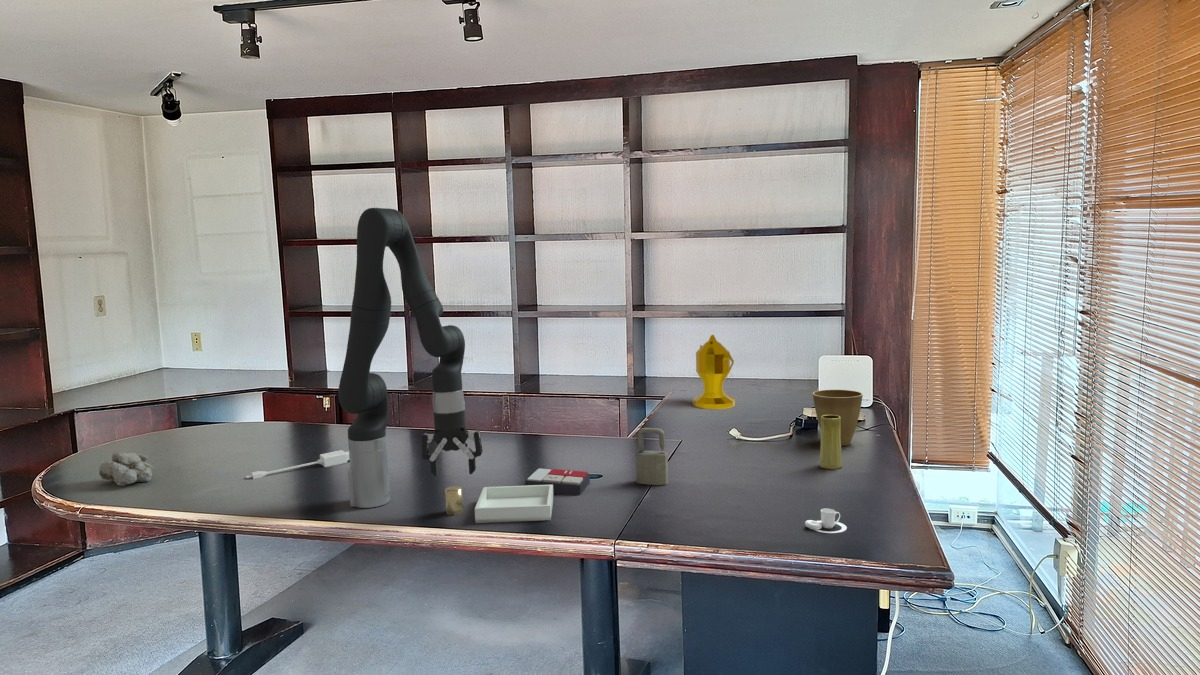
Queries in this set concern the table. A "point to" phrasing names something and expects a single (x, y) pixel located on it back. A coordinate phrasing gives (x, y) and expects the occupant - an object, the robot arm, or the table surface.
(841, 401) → the plant pot
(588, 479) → the calculator
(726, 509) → the table surface
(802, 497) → the table surface
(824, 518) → the teacup and saucer
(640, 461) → the padlock
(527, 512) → the tray
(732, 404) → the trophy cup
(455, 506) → the cylinder
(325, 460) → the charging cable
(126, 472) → the mineral
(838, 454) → the vase
